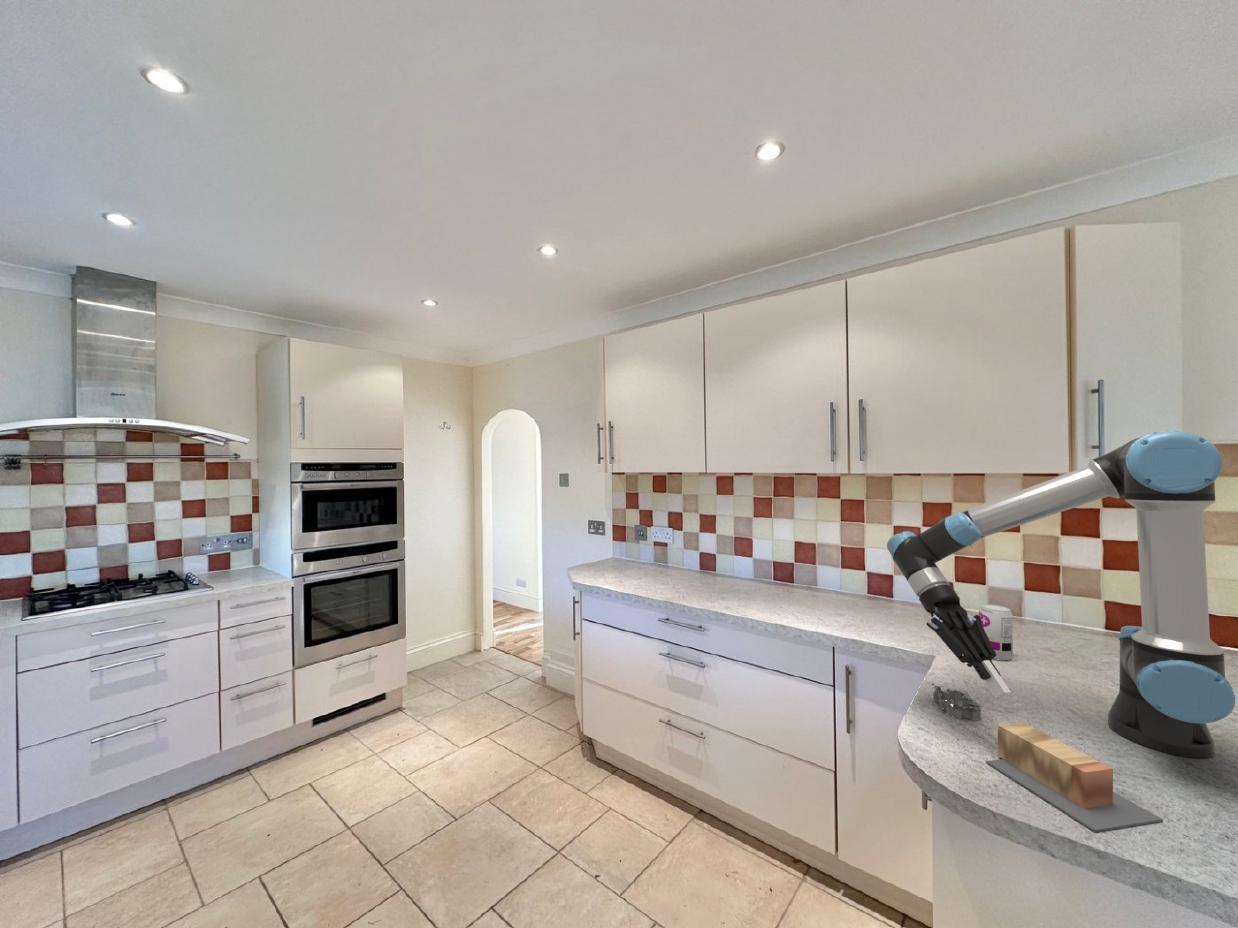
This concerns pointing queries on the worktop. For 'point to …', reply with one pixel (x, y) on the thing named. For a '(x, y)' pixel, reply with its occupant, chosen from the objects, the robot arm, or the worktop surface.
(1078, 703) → the worktop surface
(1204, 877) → the worktop surface
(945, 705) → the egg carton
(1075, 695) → the worktop surface
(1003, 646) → the supplement can
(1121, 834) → the worktop surface
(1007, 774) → the mat
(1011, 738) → the oak block
